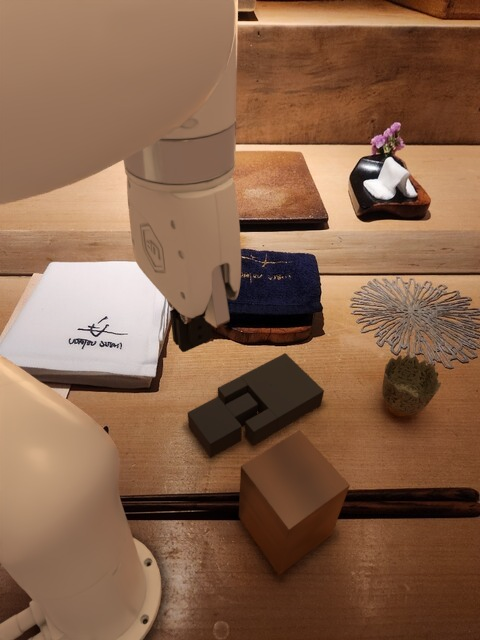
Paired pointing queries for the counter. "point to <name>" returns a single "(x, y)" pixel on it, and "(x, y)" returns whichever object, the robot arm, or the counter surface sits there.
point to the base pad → (274, 396)
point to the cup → (408, 385)
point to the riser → (290, 500)
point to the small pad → (221, 422)
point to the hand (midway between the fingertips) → (192, 341)
